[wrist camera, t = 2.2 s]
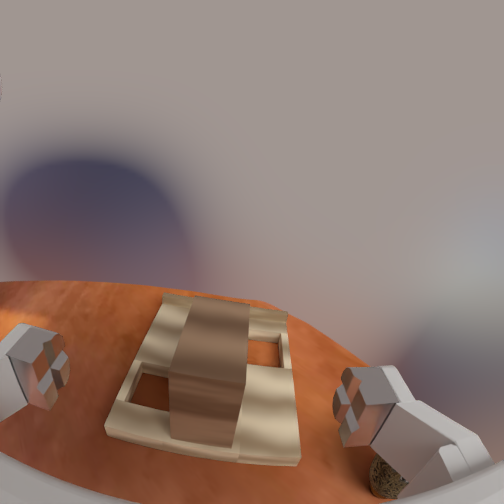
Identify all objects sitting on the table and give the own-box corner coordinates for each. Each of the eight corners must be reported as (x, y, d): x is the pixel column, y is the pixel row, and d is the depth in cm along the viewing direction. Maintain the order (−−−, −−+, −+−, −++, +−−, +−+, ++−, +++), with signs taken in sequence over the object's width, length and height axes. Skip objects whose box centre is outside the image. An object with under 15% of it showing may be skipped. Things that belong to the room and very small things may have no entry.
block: (231, 448, 26) (245, 383, 22) (170, 438, 26) (168, 370, 22) (237, 370, 37) (250, 304, 34) (190, 363, 37) (195, 295, 33)
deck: (296, 466, 26) (305, 450, 25) (107, 435, 26) (101, 417, 24) (283, 329, 51) (287, 311, 49) (163, 310, 50) (164, 292, 49)
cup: (418, 476, 24) (456, 436, 21) (397, 524, 19) (442, 490, 16) (367, 453, 28) (398, 410, 25) (339, 498, 23) (373, 461, 20)
